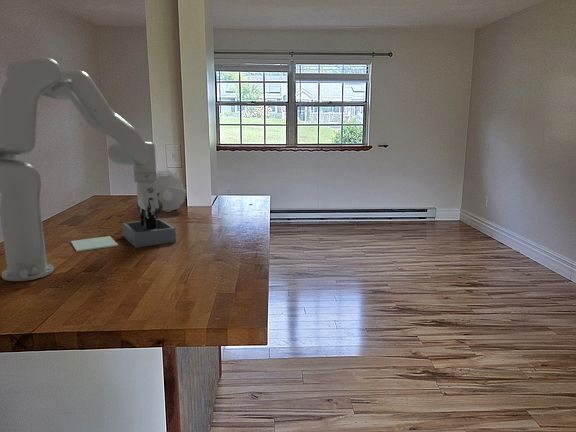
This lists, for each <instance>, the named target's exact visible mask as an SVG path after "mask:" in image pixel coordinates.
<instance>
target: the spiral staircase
mask: <svg viewBox="0 0 576 432" xmlns="http://www.w3.org/2000/svg"><path fill="white" fill-rule="evenodd" d="M156 176H157V181H156V182H155V183H156V188H157V193H159V196H158V197H159V198H160V199H161V201H162V204H163V207H162V211H164V212H167V213H168V211H170V212H171V211H174V210H177V209H179V210H180V206H181V205H182V204H184V203H185V201H186V199H185V196H186V193H187V190H186V189H185V188H184V184H183V182H182V180H181V177H179V175H178V174H177V172H172V171H171V170H169V169H166V170H157V172H156Z"/></svg>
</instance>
